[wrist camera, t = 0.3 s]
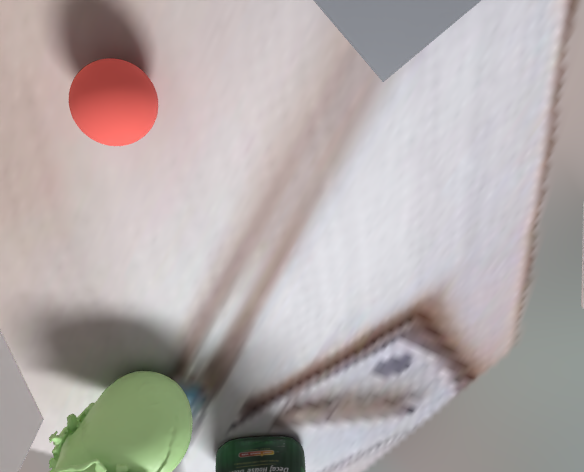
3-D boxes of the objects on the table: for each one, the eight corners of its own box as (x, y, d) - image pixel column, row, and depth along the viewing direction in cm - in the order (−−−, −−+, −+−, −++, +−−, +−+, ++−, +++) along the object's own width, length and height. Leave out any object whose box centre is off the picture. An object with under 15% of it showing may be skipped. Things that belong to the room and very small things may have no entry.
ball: (113, 28, 33) (96, 59, 29) (178, 86, 35) (171, 122, 31) (62, 85, 34) (40, 121, 31) (128, 137, 37) (115, 176, 33)
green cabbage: (114, 320, 47) (87, 436, 39) (213, 376, 53) (208, 489, 44) (34, 387, 52) (-6, 505, 43) (133, 433, 57) (115, 545, 48)
